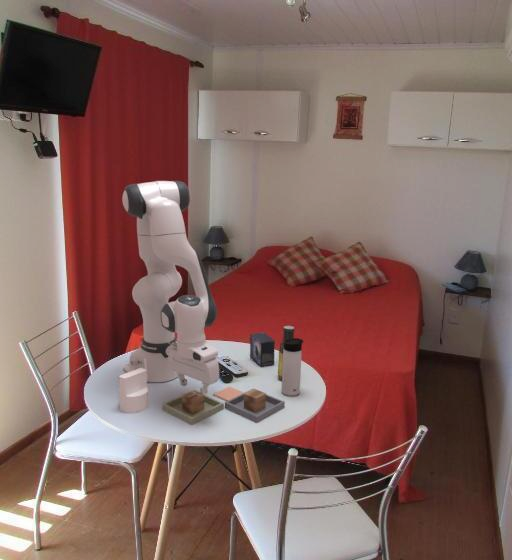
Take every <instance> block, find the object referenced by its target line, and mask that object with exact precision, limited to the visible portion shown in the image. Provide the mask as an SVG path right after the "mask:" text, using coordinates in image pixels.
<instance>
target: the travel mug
mask: <svg viewBox="0 0 512 560" xmlns="http://www.w3.org/2000/svg"><path fill="white" fill-rule="evenodd" d="M303 343H304V339H302V338H297V337H294V338H291V339H287V340H285V341H284V348H283V370H282V380H281V394H282V395H283V396H285V397H290V398H294V397H298V396H299V395H300V391H301V374H302V373H301V371H302V370H301V369H302V353H303V352H302V349H303Z"/></svg>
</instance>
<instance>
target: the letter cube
mask: <svg viewBox="0 0 512 560" xmlns="http://www.w3.org/2000/svg"><path fill="white" fill-rule="evenodd" d="M199 392H200V391H197V390H195V391H194V390H191V391H189V392H186V393H184V394H182V395H181V396H182V410H184V411H186V412H188V413H190V414H192V415H193V414H196V413H198V412H200V411H202V410H204V395H205V394H204V395H203V394H201V393H199Z"/></svg>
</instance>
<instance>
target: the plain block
mask: <svg viewBox="0 0 512 560" xmlns="http://www.w3.org/2000/svg"><path fill="white" fill-rule="evenodd" d="M252 389H253V390H251V389H250V390H251V391H249V390H247V391H248V392H247V391H245V392H246V393H245V392H244V408H245V409H248V410H250V411H252V412H255V413H256V412H258V411H260V410H262V409H264V408H266V394H267V393H266V392H263V391H261V390H258V389H256V388H252Z"/></svg>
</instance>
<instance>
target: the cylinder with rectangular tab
mask: <svg viewBox="0 0 512 560" xmlns="http://www.w3.org/2000/svg"><path fill="white" fill-rule="evenodd" d="M118 379H119V382H118V383H119V391H118V393H119V394H118V395H119V409H120V411H122V412H125V413H127V414H128V413H130V414H131V413H132V414H134V413H135V414H136V413H140V412H143V411H145V410H146V409H148V407H149V388H148V382H147V370H145V369H143V368H139V369H136V370H134V371H131V372H128V373H127V372H125V373H124V374H123V373H122V374H120V375H119V376H118Z"/></svg>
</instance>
